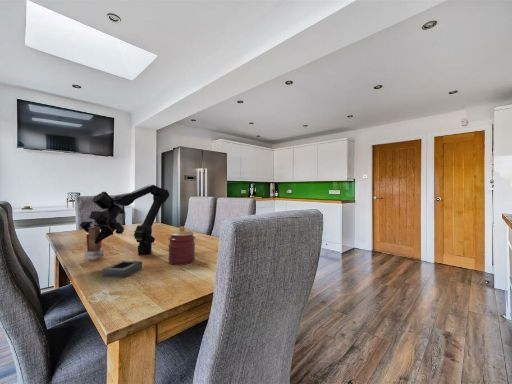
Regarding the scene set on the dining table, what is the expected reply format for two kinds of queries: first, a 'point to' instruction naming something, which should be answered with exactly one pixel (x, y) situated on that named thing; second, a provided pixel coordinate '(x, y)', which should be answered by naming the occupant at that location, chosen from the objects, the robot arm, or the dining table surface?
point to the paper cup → (88, 243)
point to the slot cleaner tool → (94, 248)
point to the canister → (181, 247)
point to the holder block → (122, 269)
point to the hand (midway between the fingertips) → (91, 243)
